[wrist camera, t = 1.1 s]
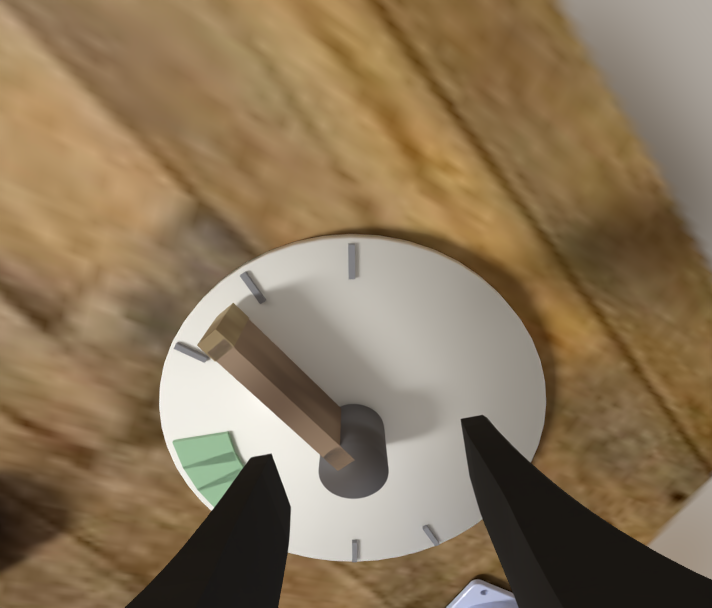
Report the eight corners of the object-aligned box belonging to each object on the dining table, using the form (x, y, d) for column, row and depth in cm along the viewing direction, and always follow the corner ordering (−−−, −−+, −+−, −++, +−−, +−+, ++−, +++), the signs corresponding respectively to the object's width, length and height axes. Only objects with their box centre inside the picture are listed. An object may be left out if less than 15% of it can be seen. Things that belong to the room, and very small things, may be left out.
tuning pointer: (396, 432, 23) (403, 474, 20) (350, 464, 24) (349, 509, 21) (250, 286, 20) (234, 313, 17) (202, 328, 21) (179, 360, 18)
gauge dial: (618, 352, 23) (631, 364, 22) (410, 586, 29) (412, 604, 28) (265, 150, 19) (259, 151, 18) (115, 470, 26) (105, 486, 24)
